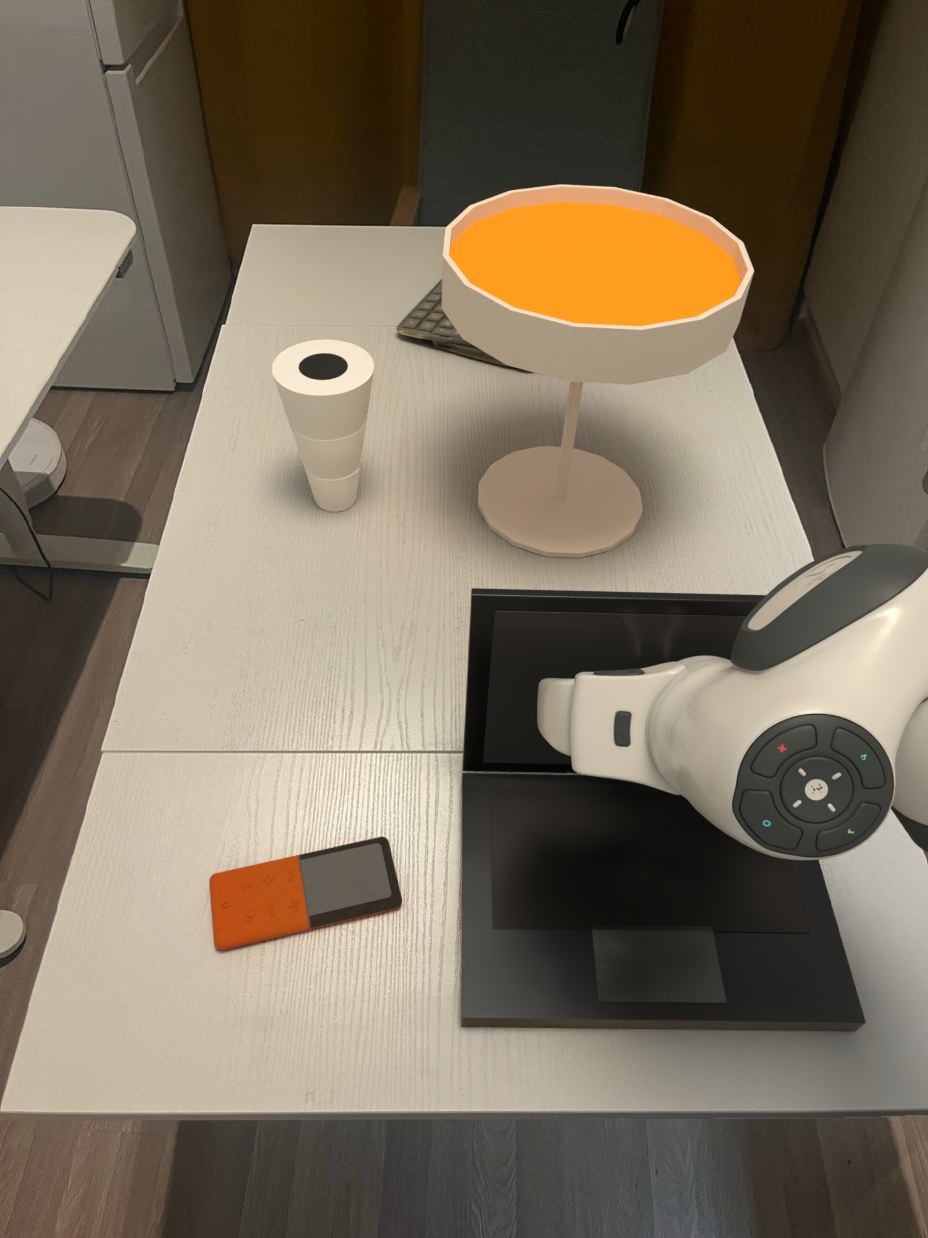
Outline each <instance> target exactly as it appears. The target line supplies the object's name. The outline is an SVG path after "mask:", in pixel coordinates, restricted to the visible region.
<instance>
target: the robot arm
mask: <svg viewBox="0 0 928 1238" xmlns="http://www.w3.org/2000/svg"><path fill="white" fill-rule="evenodd" d="M765 595H766V596H765V597H764V598H763V599H762V600H761V601H760V602H759V603H758V604H757V605H756V606H755V607H754V608H753V610H752V611H751V612H750V613H749V614H748V616H747V617H746V618H745V620H744V621H743V623H742V625H741V628H740V630H739V632H738V635H737V637H736V640H735V642H734V645H733V648H732V653H731V660H728V659H725V658H721V657H716V656H695V657H690V658H686V659H683V660H680V661H678V662H668V663H663V664H659V665H655V666H651V667H647V668H642V669H626V670H610V671H594V672H580V673H578V674H577V675H576V676H575V679H563V678H547V679H543V680H541V681H540V683H539V687H538V701H537V723H538V728H539V731H540V733H541V734H542V736H543V737H544V738H545V739H546V741H547V742H548V743H549V744H550V745H551V746H552V747H553V748H555V749H556V750H557V751H559V752H561V753H563V754H566V755H569V756H571V762H572V768H573V770H574V771H575V772H577V773H576V774H578V775H587V776H595V777H598V778H606V779H614V780H620V781H626V782H632V783H640V784H644V785H647V786H651V787H654V788H657V789H660V790H662V791H665V792H669V793H672V794H675V795H680V794H681V795H682V796H683V797H685V798H686V799H687V800H688V801H689V802H690V803H691V805H692V806H693V807H694V808H695V809H696V810H697V811H698V812H699V813H700V814H701V815H703V816H704V817H705V818H706V819H707V820H708V821H710V822H711V823H712V824H713V825H715V826H716V827H717V828H719V829H720V830H721V831H723V832H724V833H726V834H727V835H729V836H731V837H732V838H734V839H736V840H737V841H739V842H741V843H742V844H744V845H746V846H748V847H750V848H752V849H754V850H756V851H759V852H761V853H764V854H767V855H770V856H773V857H777V858H783V859H790V860H819V861H820V860H827V859H831V858H835V857H839V856H843V855H845V854H848V853H849V852H852V851H853V850H856V849H857V848H859V847H861V846H862V845H863V844H865V843H867V841H869V840H870V839H871V838H872V837H874V835H875V834H876V833H878V831H879V830H880V828H881V827H882V826H883V824H884V823H885V821H886V820H887V818H888V816H889V813H890V812H892V813H893V815H894V816H895V817H896V819H897V821H898V822H899V824H900V825H901V826H902V827H903V829H904V830H905V832H906V833H907V835H908V836H909V839H910V840H912V843H914V844H915V845H916V846H917V847H918V848H920V849H921V850H923V851H924V852H926V853H928V550H927V549H925V548H921V547H918V546H914V545H908V544H901V543H870V544H858V545H853V546H848V547H844V548H841V549H839V550H836V551H832V552H830V553H828V554H825V555H823V556H821V557H819V558H816V559H814V560H812V561H810V562H808V563H807V564H805V565H803V566H802V567H800V568H799V569H797V570H796V571H795V572H793V573H792V574H790V575H788V576H787V577H786V578H784V579H783V580H782V581H780V582H779V583H778V584H777V585H776V586H774V587H773V588H772V589H771V590H770V591H769V592H768V593H767V594H765Z"/></svg>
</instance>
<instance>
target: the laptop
mask: <svg viewBox="0 0 928 1238" xmlns="http://www.w3.org/2000/svg"><path fill="white" fill-rule="evenodd" d="M396 332H398V333H399V334H400V335H403V336H408V337H412V338H416V339H423V340H429V341H432V345H433V346H434V347H436V348H439V349H441V350H445V351H448V352H452V353H455V354H458V355H462V356H465V357H468V358H472V359H475V360H480V361H483V362H487V363H491V364H496V365H501V366H503V367H504V366H505V367H510V368H513V367H512V366H509V365H506V364H504V363H502V362H501V361H499V360H497V359H496V358H494V357H492V356H491V355H489V354H487V353H486V352H484V351H482V350H481V349H479V348H477V347H476V346H474V345H472V344H471V343H469V342H467V341H466V340H464V339H462V337H461V336H460V334H459V333H458V331H457V330H456V328H455V327H454V326H453V324H452V323H451V321H450V320H449V318H448V317H447V315H446V314H445V313H444V311H443V310H442V278H441V279H440V280H439V281H438V282H437V283H436V284H435V285H434V286H433V287H432V288H431V290H429V291H428V292H427V294H426V295H424V296H423V297H422V299H421V300H419V302H418V303H417V304H416V305H415V306H414V307H413V308H411V310H410V311H409V312H408V313H407V314H406V315H405V316H404V318H402V319H401V321H400V322H399V323H397V325H396ZM514 368H515V369H517V368H516V367H514Z"/></svg>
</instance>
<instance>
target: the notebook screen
mask: <svg viewBox="0 0 928 1238" xmlns="http://www.w3.org/2000/svg"><path fill="white" fill-rule="evenodd" d="M766 595H767V594H741V593H739V594H738V593H737V594H736V593H735V594H733V593H698V592H697V593H695V592H693V593H690V592H655V591H654V592H652V591H651V592H650V591H648V592H647V591H611V590H606V591H605V590H570V589H569V590H567V589H566V590H565V589H563V590H562V589H528V588H527V589H526V588H525V589H524V588H523V589H521V588H484V587H483V588H481V587H480V588H479V587H477V588H476V587H472V588H471V589H470V607H469V608H470V609H469V625H468V626H469V627H468V628H469V629H468V645H467V666H466V685H465V704H464V722H463V723H464V724H463V742H462V762H461V768H462V769H461V771H462V772H472V773H527V774H578V773H577V772H575V771H574V770H573V768H572V762H571V756H569V755H566V754H563V753H561V752H559V751H557V750H556V749H555V748H553V747H552V746H551V745H550V744H549V743H548V742H547V741H546V739H545V738H544V737H543V736H542V734H541V733H540V731H539V728H538V723H537V701H538V687H539V683H540V681H541V680H543V679H547V678H563V679H575V676H576V675H577V674H578V673H580V672H594V671H610V670H626V669H642V668H647V667H651V666H655V665H659V664H663V663H668V662H678V661H680V660H683V659H686V658H690V657H695V656H716V657H721V658H725V659H728V660H731V653H732V648H733V645H734V642H735V640H736V637H737V635H738V632H739V630H740V628H741V625H742V623H743V621H744V620H745V618H746V617H747V616H748V614H749V613H750V612H751V611H752V610H753V608H754V607H755V606H756V605H757V604H758V603H759V602H760V601H761V600H762V599H763V598H764V597H765V596H766Z"/></svg>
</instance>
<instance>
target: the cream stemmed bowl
mask: <svg viewBox="0 0 928 1238" xmlns="http://www.w3.org/2000/svg"><path fill="white" fill-rule="evenodd" d="M444 228H445V230H444V231H445V232H444V238H443V239H444V240H443V248H442V250H443V251H442V273H441V274H442V275H441V279H442V310H443V311H444V313H445V314H446V315H447V317H448V318H449V320H450V321H451V323H452V324H453V326H454V327H455V328H456V330H457V331H458V333H459V334H460V336H461V337H462V339H464V340H466V341H467V342H469V343H471V344H472V345H474V346H476V347H477V348H479V349H481V350H482V351H484V352H486V353H487V354H489V355H491V356H492V357H494V358H496V359H497V360H499V361H501V362H502V363H504V364H506V365H509V366H508V367H511V366H512V367H511V368H515V367H516V368H515V369H519V370H524V371H527V372H531V373H534V374H538V375H541V376H545V377H549V378H552V379H556V380H559V381H563V382H569V387H568V394H567V402H566V408H565V415H564V423H563V430H562V437H561V444H560V446H551V445H550V446H549V445H539V446H535V447H530V448H524V449H520V450H515V451H512V452H510V453H509V454H507V455H505V456H503V457H502V458H500V459H498V460H496V461H494V462H493V463H491V464H490V466H489V467H488V468H487V470H486V471H485V472H484V474H483V475H482V477H481V478H480V480H479V481H478V489H477V490H478V493H477V509H478V511H479V512H480V514H481V516H482V518H483V519H484V521H485V523H486V524H487V527H488V528H489V530H491V531H492V532H493V533H495V534H496V535H498V536H499V537H500V538H502V539H504V540H505V541H506V542H507V543H509V544H510V545H511V546H513V547H516V548H519V549H522V550H525V551H527V552H531V553H534V554H537V555H540V556H543V557H548V558H549V557H550V558H568V559H569V558H570V559H571V558H572V559H582V558H585V557H590V556H593V555H597V554H601V553H606V552H610V551H612V550H613V549H615V548H616V547H617V546H619V545H620V544H622V543H623V542H625V541H626V540H628V539H629V538H630V537H632V536H633V534H634V533H635V530H636V528H637V526H638V525H639V522H640V520H641V518H642V516H643V505H642V497H641V490H640V489H639V487H638V486H637V484H635V482H634V481H633V479H632V478H631V477H630V476H629V475H628V473H627V472H626V471H625V470H624V469H623V468H621V467H620V466H618V465H616V464H614V463H613V462H611V460H608V459H606V458H605V457H604V456H602V455H598V454H595V453H592V452H588V451H585V450H582V449H578V448H575V447H574V446H575V445H574V444H575V440H576V439H575V438H576V432H577V425H578V420H579V413H580V406H581V399H582V394H583V387H584V383H588V384H589V383H590V384H613V385H630V386H631V385H636V384H637V385H638V384H641V383H646V382H647V383H648V382H652V381H657V380H661V379H663V380H664V379H667V378H673V377H678V376H684V375H688V374H690V373H692V372H693V371H695V370H697V369H699V368H700V367H702V366H704V365H705V364H707V363H709V362H710V361H712V360H714V359H716V358H717V357H719V356H720V355H722V354H724V353H726V352H727V350H728V348H729V346H730V343H731V341H732V339H733V337H734V335H735V333H736V331H737V329H738V327H739V325H740V322H741V318H742V315H743V311H744V308H745V305H746V301H747V298H748V294H749V291H750V287H751V284H752V280H753V277H754V273H755V269H754V267H753V264H752V261H751V258H750V256H749V253H748V251H747V247H746V245H745V243H744V242H743V241H742V240H741V239H740V238H738V237H737V236H736V235H735V234H734V233H733V232H731V231H729V230H728V229H727V228H726V227H725V226H723V225H722V224H721V223H720V222H719V221H717V220H716V219H715V218H714V217H712V216H710V215H707V214H705V213H703V212H700V211H698V210H695V209H693V208H691V207H689V206H686V205H684V204H681V203H679V202H677V201H674V200H673V199H670V198H667V197H663V196H658V195H653V194H648V193H644V192H639V191H634V190H629V189H624V188H620V187H616V186H601V185H600V186H599V185H583V184H582V185H581V184H562V183H561V184H552V185H543V186H535V187H527V188H519V189H513V190H508V191H505V192H502V193H499V194H497V195H494V196H492V197H489V198H486V199H484V200H480V201H478V202H476V203H472V204H470V205H468V207H466V208H465V209H464V210H463V211H462V212H461V213H459V215H458V216H457V217H456V218H454V219H453V220H452V221H451V222H450V223H449V224H448V225H447V226H446V227H444Z"/></svg>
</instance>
